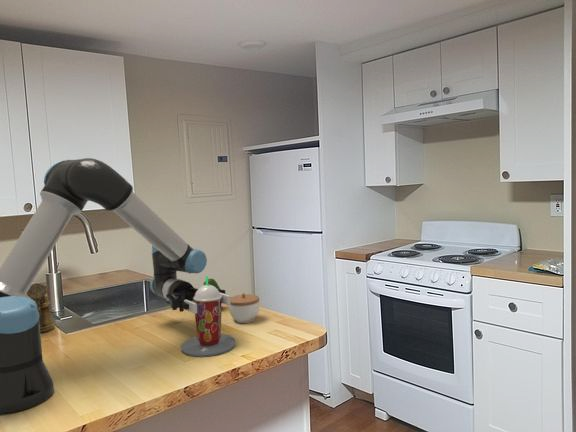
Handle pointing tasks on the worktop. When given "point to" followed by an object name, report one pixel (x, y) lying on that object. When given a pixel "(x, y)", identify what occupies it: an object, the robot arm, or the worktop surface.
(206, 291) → the smoothie
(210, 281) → the avocado
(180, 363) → the worktop surface
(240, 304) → the lidded jar
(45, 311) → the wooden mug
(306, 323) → the worktop surface
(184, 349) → the slate plate
